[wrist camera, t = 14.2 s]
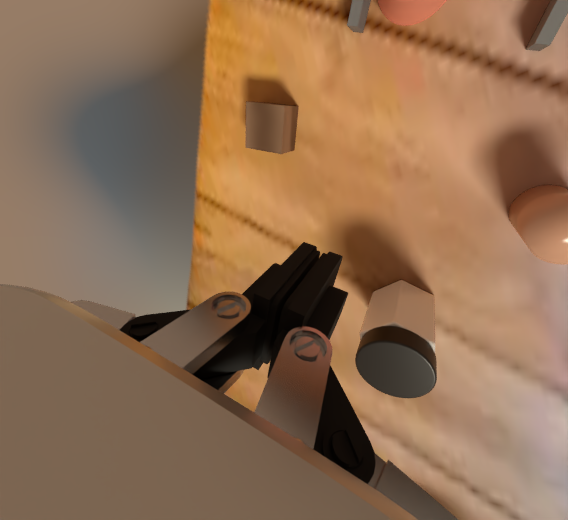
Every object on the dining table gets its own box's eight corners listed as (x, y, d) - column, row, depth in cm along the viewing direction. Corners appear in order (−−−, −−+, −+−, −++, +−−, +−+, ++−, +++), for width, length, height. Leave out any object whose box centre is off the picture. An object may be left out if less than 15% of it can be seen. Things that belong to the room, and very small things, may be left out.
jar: (361, 309, 41) (340, 368, 32) (386, 270, 36) (370, 326, 27) (417, 340, 39) (412, 412, 30) (451, 302, 34) (459, 374, 25)
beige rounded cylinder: (591, 193, 24) (637, 216, 19) (553, 240, 27) (583, 273, 22) (527, 178, 26) (553, 196, 20) (497, 224, 29) (513, 251, 23)
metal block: (298, 106, 32) (284, 105, 29) (294, 150, 35) (281, 153, 32) (263, 102, 34) (246, 101, 31) (261, 144, 36) (245, 147, 33)
